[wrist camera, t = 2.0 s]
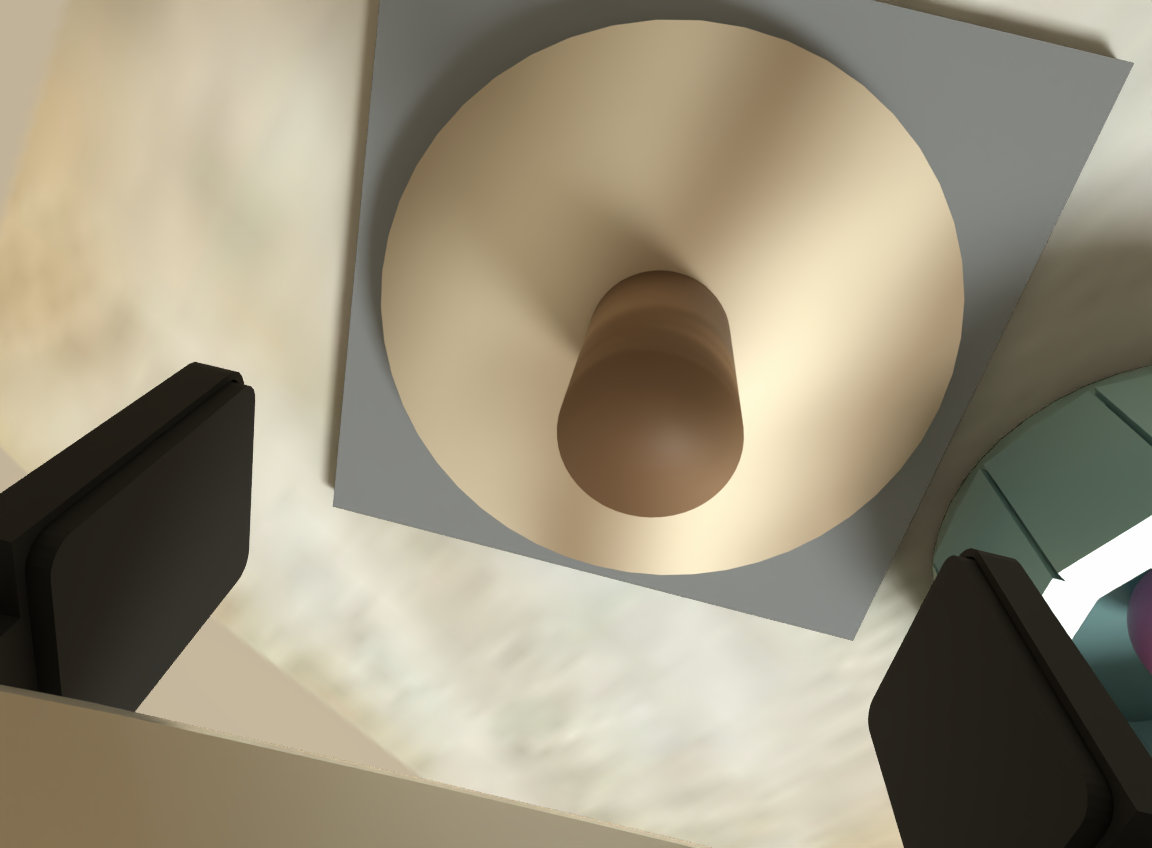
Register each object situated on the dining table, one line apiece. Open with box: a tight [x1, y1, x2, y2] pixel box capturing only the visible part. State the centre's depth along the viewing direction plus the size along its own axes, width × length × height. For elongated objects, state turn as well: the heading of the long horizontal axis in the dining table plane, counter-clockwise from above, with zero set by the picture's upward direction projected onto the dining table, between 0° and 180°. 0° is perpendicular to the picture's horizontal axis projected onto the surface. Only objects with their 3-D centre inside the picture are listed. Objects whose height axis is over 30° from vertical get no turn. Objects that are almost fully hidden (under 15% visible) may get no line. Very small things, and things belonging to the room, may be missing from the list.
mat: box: [333, 0, 1134, 641], centre depth 19 cm, size 15×15×1 cm
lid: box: [381, 20, 964, 575], centre depth 16 cm, size 13×13×6 cm
